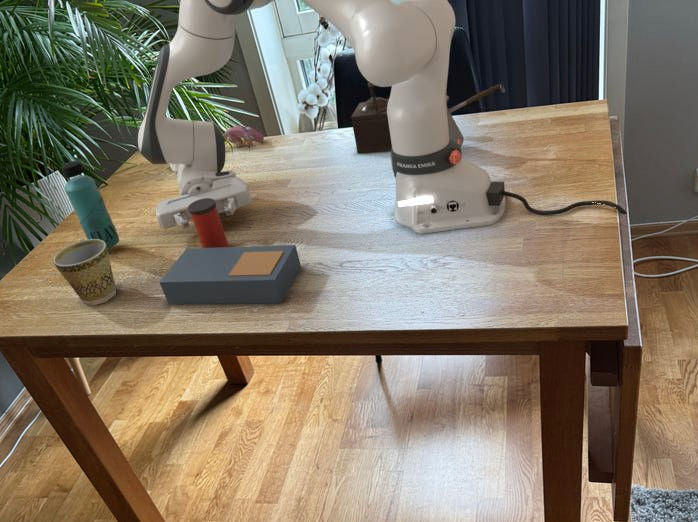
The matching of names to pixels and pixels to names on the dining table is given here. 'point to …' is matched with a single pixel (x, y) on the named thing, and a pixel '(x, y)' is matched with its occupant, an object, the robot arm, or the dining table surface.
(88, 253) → the ceramic cup
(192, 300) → the platform
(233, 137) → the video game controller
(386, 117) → the manual coffee grinder
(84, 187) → the beverage bottle
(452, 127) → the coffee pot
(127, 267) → the dining table surface
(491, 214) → the robot arm
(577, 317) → the dining table surface
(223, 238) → the red canister
